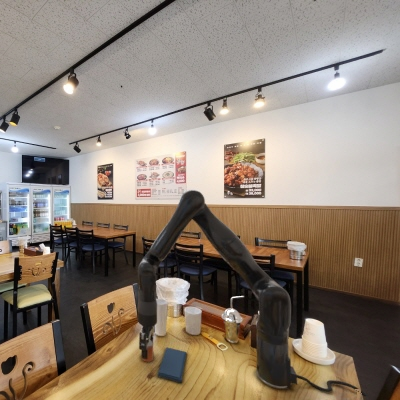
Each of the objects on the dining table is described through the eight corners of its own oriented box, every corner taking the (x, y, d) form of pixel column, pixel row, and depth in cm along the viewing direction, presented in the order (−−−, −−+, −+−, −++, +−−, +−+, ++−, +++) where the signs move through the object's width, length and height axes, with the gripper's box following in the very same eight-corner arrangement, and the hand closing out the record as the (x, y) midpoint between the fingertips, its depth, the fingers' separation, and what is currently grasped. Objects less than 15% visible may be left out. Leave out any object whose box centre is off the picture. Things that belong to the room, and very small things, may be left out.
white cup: (203, 329, 110) (203, 309, 110) (199, 337, 103) (199, 315, 104) (187, 325, 114) (186, 305, 114) (182, 332, 108) (182, 311, 108)
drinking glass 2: (166, 330, 110) (166, 298, 110) (168, 338, 103) (168, 304, 103) (152, 329, 110) (152, 298, 111) (153, 337, 104) (153, 304, 104)
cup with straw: (224, 332, 107) (224, 290, 108) (245, 339, 102) (245, 294, 102) (219, 341, 101) (218, 295, 101) (242, 349, 95) (241, 301, 96)
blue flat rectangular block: (186, 354, 92) (186, 351, 92) (181, 383, 77) (181, 379, 77) (166, 349, 95) (166, 346, 95) (157, 376, 80) (157, 372, 80)
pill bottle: (154, 355, 91) (154, 340, 91) (151, 363, 87) (151, 347, 87) (143, 352, 93) (143, 338, 93) (139, 359, 88) (139, 344, 88)
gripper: (152, 320, 82) (152, 366, 82) (160, 304, 95) (160, 344, 95) (132, 316, 85) (132, 360, 84) (143, 301, 98) (143, 339, 98)
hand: (147, 351), depth 90 cm, fingers open, 8 cm apart
